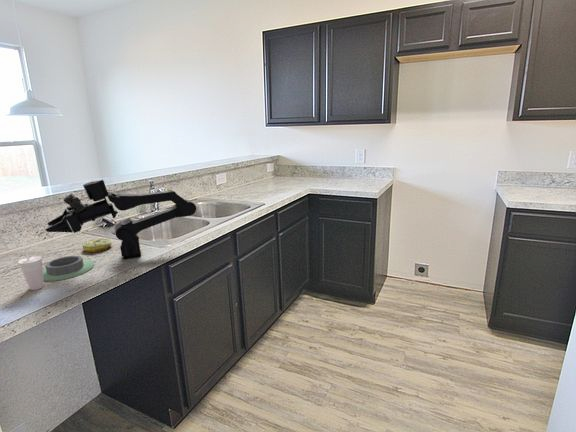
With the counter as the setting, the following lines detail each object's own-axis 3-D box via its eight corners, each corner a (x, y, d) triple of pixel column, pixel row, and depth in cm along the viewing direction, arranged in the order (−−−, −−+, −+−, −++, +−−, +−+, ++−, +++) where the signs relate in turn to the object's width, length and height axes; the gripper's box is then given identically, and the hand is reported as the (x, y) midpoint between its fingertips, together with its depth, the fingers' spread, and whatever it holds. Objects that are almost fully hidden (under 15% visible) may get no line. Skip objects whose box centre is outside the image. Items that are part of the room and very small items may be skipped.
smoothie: (19, 291, 107) (8, 249, 104) (38, 282, 113) (28, 242, 110) (35, 292, 106) (25, 251, 102) (53, 283, 112) (44, 244, 108)
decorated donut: (117, 246, 147) (116, 237, 146) (96, 254, 137) (94, 246, 136) (100, 243, 151) (98, 235, 150) (78, 251, 141) (76, 243, 140)
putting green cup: (97, 257, 134) (95, 249, 133) (90, 275, 118) (88, 266, 117) (43, 265, 127) (41, 257, 126) (28, 285, 111) (26, 275, 110)
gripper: (84, 187, 129) (38, 201, 123) (86, 194, 114) (33, 211, 107) (97, 213, 133) (52, 228, 127) (99, 224, 118) (49, 242, 111)
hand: (47, 227), depth 118 cm, fingers open, 9 cm apart
